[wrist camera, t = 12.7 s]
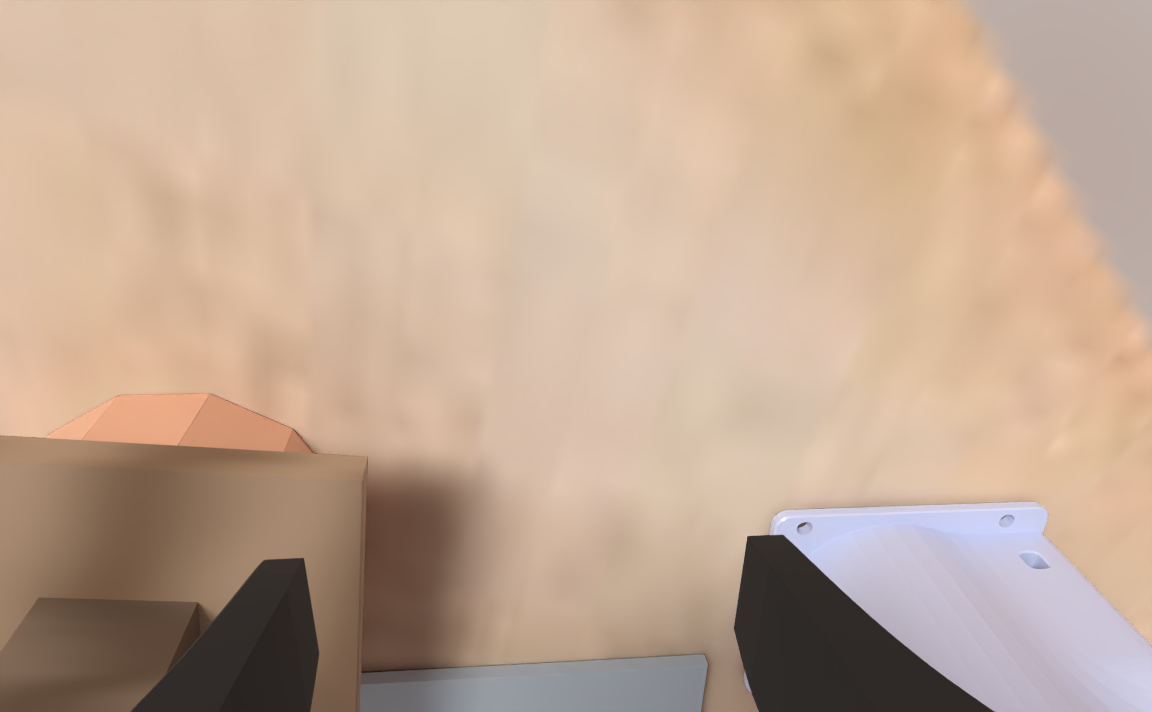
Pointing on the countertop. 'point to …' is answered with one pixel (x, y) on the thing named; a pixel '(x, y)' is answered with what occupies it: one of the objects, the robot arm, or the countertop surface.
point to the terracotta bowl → (181, 424)
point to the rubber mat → (543, 687)
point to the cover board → (164, 562)
